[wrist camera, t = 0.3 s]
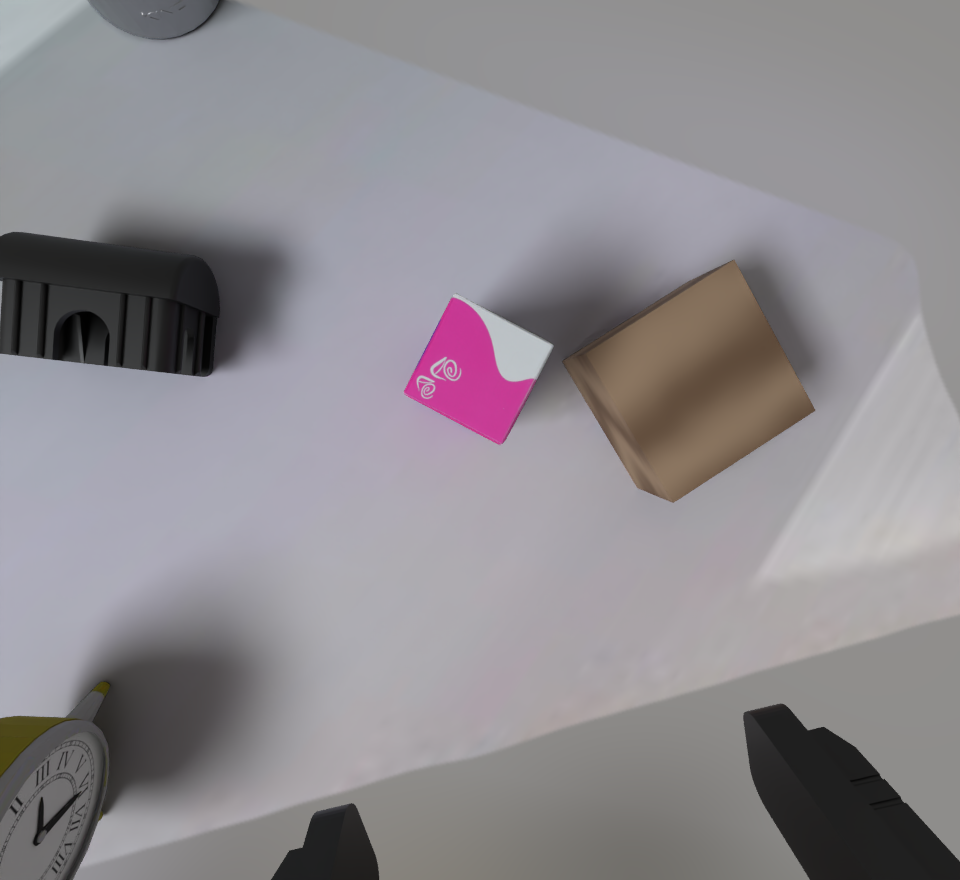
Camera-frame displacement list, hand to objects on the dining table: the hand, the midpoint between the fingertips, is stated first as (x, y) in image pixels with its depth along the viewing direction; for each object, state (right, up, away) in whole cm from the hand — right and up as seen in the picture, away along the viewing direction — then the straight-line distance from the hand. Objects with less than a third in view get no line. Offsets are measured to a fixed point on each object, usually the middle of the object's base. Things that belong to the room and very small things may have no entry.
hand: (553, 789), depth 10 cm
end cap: (-24, +15, +24) cm, 37 cm away
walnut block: (+12, +11, +28) cm, 32 cm away
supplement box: (-2, +11, +26) cm, 29 cm away
